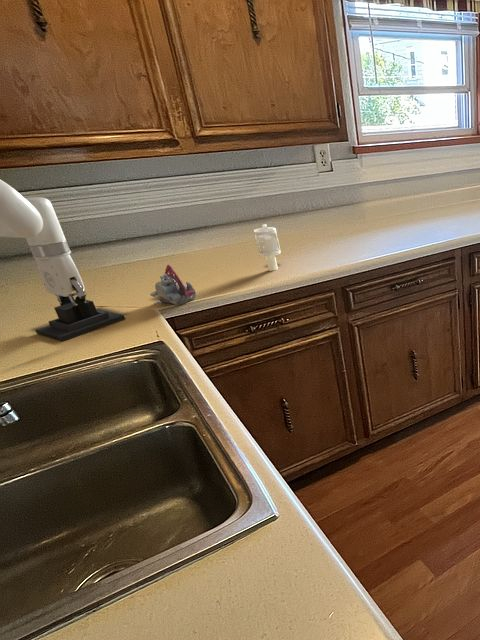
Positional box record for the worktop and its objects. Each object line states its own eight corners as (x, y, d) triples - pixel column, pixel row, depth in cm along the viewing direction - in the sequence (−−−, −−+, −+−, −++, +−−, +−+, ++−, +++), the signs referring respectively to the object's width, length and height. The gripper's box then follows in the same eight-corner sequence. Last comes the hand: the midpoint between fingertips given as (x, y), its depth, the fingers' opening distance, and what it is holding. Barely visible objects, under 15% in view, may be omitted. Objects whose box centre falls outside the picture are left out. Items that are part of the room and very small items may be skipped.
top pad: (70, 324, 134) (64, 310, 132) (60, 321, 136) (53, 307, 134) (98, 315, 139) (93, 301, 137) (88, 312, 141) (82, 298, 139)
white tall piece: (284, 265, 184) (275, 223, 177) (283, 270, 178) (274, 227, 171) (263, 267, 182) (253, 225, 175) (262, 273, 176) (252, 229, 169)
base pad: (62, 341, 130) (57, 331, 128) (36, 333, 135) (32, 324, 133) (125, 319, 142) (122, 309, 141) (100, 312, 147) (96, 303, 146)
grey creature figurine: (209, 289, 155) (176, 264, 145) (187, 319, 152) (152, 296, 142) (188, 283, 161) (154, 259, 151) (166, 313, 157) (131, 290, 147)
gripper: (15, 250, 130) (45, 317, 138) (52, 256, 122) (81, 327, 131) (48, 242, 135) (76, 307, 144) (85, 249, 128) (112, 316, 137)
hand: (78, 316), depth 137 cm, fingers closed on top pad, 5 cm apart
